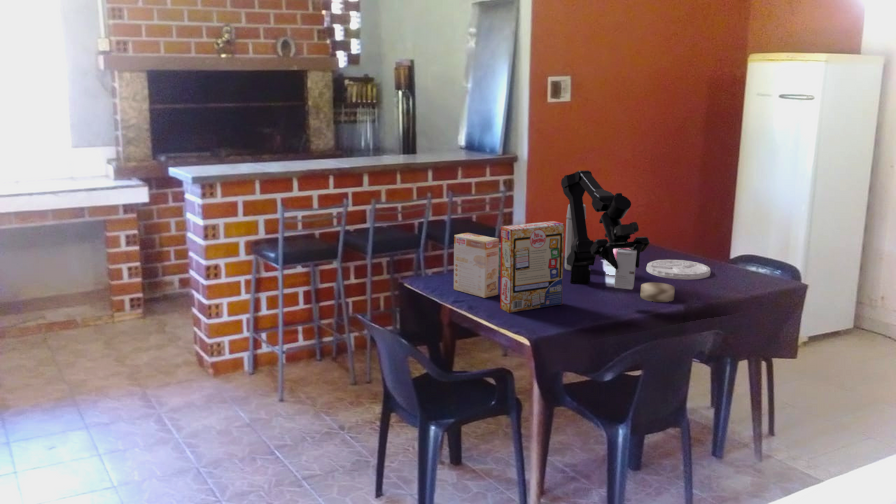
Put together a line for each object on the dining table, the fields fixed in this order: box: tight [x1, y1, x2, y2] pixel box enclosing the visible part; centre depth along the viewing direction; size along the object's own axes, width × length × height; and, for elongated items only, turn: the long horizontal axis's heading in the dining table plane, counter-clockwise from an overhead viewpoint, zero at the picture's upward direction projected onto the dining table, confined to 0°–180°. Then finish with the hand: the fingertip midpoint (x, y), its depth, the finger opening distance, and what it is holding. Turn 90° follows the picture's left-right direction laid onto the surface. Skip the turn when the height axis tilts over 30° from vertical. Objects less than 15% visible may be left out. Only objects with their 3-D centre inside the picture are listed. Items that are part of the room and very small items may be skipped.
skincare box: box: [613, 248, 637, 290], centre depth 258 cm, size 6×4×12 cm
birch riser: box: [639, 281, 676, 303], centre depth 272 cm, size 11×11×4 cm
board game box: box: [499, 220, 565, 314], centre depth 257 cm, size 20×6×27 cm, turn 117°
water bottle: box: [564, 203, 587, 272], centre depth 307 cm, size 9×8×25 cm
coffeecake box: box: [453, 232, 500, 299], centre depth 275 cm, size 15×7×20 cm, turn 44°
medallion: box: [645, 259, 712, 280], centre depth 309 cm, size 24×27×2 cm
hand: (627, 268), depth 257 cm, fingers closed on skincare box, 7 cm apart
